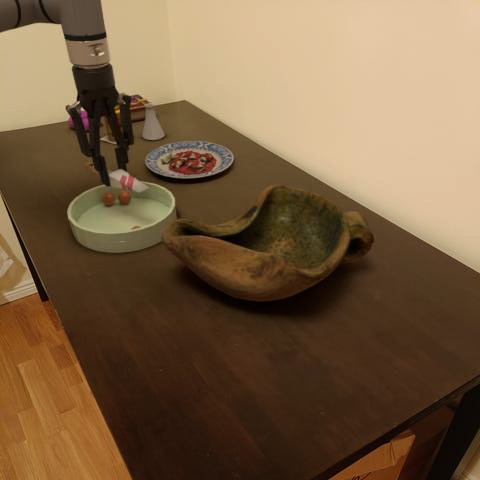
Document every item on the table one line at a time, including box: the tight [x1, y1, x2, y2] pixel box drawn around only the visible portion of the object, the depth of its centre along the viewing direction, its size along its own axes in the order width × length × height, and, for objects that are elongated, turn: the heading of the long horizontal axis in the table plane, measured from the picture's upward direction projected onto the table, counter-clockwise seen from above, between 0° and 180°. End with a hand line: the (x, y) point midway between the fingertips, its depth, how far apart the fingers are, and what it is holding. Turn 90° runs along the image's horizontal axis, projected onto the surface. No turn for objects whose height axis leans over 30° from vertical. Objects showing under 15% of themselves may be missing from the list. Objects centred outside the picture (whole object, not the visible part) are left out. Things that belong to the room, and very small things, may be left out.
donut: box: [67, 110, 102, 132], centre depth 148 cm, size 10×10×5 cm
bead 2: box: [118, 191, 131, 204], centre depth 108 cm, size 3×3×3 cm
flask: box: [141, 102, 166, 141], centre depth 140 cm, size 7×7×10 cm
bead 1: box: [102, 192, 115, 206], centre depth 107 cm, size 3×3×3 cm
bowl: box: [161, 183, 375, 302], centre depth 83 cm, size 39×29×15 cm
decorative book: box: [130, 93, 152, 122], centre depth 157 cm, size 11×16×5 cm
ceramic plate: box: [145, 140, 234, 180], centre depth 126 cm, size 26×26×3 cm
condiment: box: [100, 101, 123, 145], centre depth 138 cm, size 7×8×12 cm
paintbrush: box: [84, 161, 149, 193], centre depth 96 cm, size 4×3×20 cm
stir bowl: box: [66, 180, 178, 254], centre depth 102 cm, size 25×25×5 cm
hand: (115, 180), depth 97 cm, fingers closed on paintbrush, 4 cm apart
